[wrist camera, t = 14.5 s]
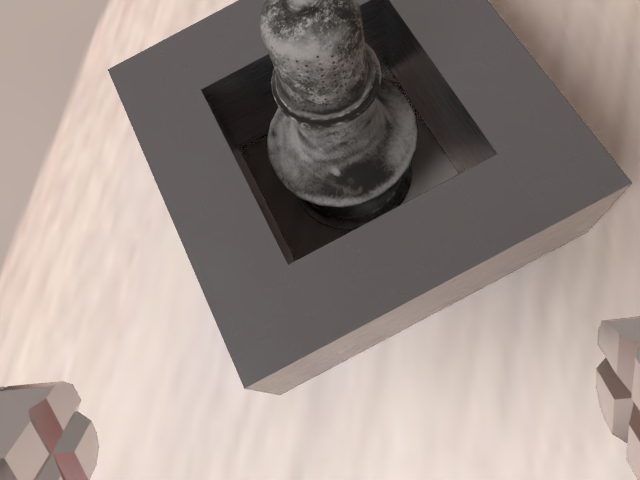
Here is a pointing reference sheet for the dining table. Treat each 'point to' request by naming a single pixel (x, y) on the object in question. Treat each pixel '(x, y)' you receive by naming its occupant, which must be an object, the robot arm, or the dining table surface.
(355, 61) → the grey chess piece
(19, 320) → the dining table surface
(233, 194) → the square frame
